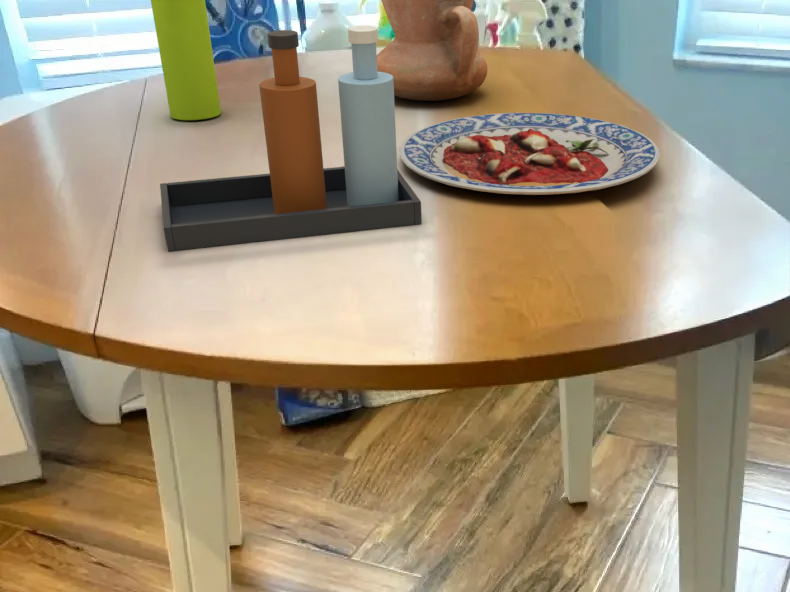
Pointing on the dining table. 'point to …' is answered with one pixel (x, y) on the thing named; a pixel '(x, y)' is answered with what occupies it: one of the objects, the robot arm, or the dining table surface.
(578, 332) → the dining table surface
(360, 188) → the pale blue bottle
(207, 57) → the soap dispenser
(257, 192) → the tray
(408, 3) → the ceramic jug
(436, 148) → the ceramic plate
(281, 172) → the amber bottle
